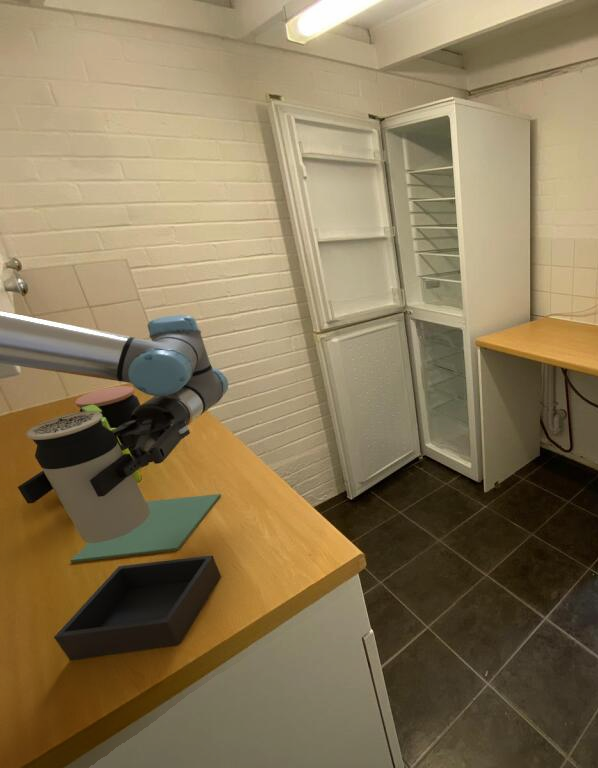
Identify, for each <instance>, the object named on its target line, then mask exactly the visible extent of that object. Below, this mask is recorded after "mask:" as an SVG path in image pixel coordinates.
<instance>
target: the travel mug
mask: <svg viewBox="0 0 598 768" xmlns="http://www.w3.org/2000/svg"><path fill="white" fill-rule="evenodd" d="M101 419H102V414H101V413H100V412H96V411H84V412H80V411H78V412H77V411H76V412H72V413H67V414H63V415H59V416H56V417H52V418H50V419H47V420H45V421H42V422H40V423H38V424H36V425H33V426H32V427H30V428H29V429H28V430H27V432H26V433H25V436H26V438H28V439H30V440H32V441H33V443H35V445H36V449H35V453H34V457H35V459H36V461H37V463H38V464H39V466H40V468H41V470H42V471H44V473H45V475H46V477H47V478H48V480H49V482H50V484H51V485H52V487H53V491H54V493H55V494H56V496H57V498H58V499H59V501H60V503H61V504H62V506H63V508H64V510H65V512H66V513H67V515H68V517H69V518H70V521H71V522H72V524H73V526H74V528H75V529H76V530H77V533H78V534H79V536H80V538H81V539H82V541H83V542H85V543H87V544H88V543H98V542H104V541H108V540H112V539H115V538H117V537H120V536H123V535H125V534H127V533H129V532H131V531H132V530H134V529H135V528H137V527H138V526H140V525H141V524H142V523H143V522H144V521H145V520H146V519H147V518H148V517H149V515H150V510H149V508H148V506H147V503H146V500H145V497H144V496H143V493H142V490H141V489H140V487H139V485H138V482H136V480H135V478H134V476H133V474H132V475H130V476H128V477H127V478H125V479H124V480H123V481H122V482H121V483H119V484H118V485H117V486H116V487H115V488H113V489H112V490H111V491H110V492H108V493H107V494H106V495H105V496H101V497H98V496H97V494H96V492H95V490H94V488H93V486H92V484H91V482H90V480H91V479H92V478H93V477H95V476H96V475H97V474H99V473H100V472H101V471H103V470H104V469H105V468H107V467H108V466H109V465H111V464H112V463H113V462H115V461H116V460H117V459H119V458H120V457H121V456H123V453H122V450H121V448H120V446H119V444H118V442H117V440H116V438H115V436H114V434H113V432H112V431H111V430H109V429H107V428H106V427H104V426H103V425H102V421H101Z"/></svg>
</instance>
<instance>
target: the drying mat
mask: <svg viewBox="0 0 598 768" xmlns="http://www.w3.org/2000/svg"><path fill="white" fill-rule="evenodd" d="M221 496H222V495H221V493H215V494H206V495H197V496H196V495H195V496H186V497H177V498H167V499H157V500H147V501H146V500H145V501H146V503H147V506H148V508H149V510H150V515H149V517H148V518H147V519H146V520H145V521H144V522H143V523H142V524H141V525H140V526H138V527H137V528H135V529H134V530H132V531H131V532H129V533H127V534H125V535H123V536H120V537H117V538H115V539H112V540H108V541H104V542H98V543H88V542H87V544H86V545H85V546H83V548H81V549H80V550H79V551H78V553H76V554H75V555H74V556H73V557H72V558H71V559H70V563H81V562H88V561H96V560H105V559H113V558H122V557H123V558H124V557H132V556H140V555H141V556H142V555H148V554H157V553H167V552H174V551H179V550H180V549H181V547H182V546H183V545H184V544H185V543H186V541H187V540H188V538H189V537H190V536H191V535H192V533H194V531H195V530H196V529H197V527H198V526H199V525H200V523H201V522H202V521H203V520H204V518H205V517H206V516H207V514H208V513H209V512H210V510H211V509H213V507H214V506H215V504H216V503H217V502H218V500H219V499H220V498H221Z"/></svg>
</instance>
